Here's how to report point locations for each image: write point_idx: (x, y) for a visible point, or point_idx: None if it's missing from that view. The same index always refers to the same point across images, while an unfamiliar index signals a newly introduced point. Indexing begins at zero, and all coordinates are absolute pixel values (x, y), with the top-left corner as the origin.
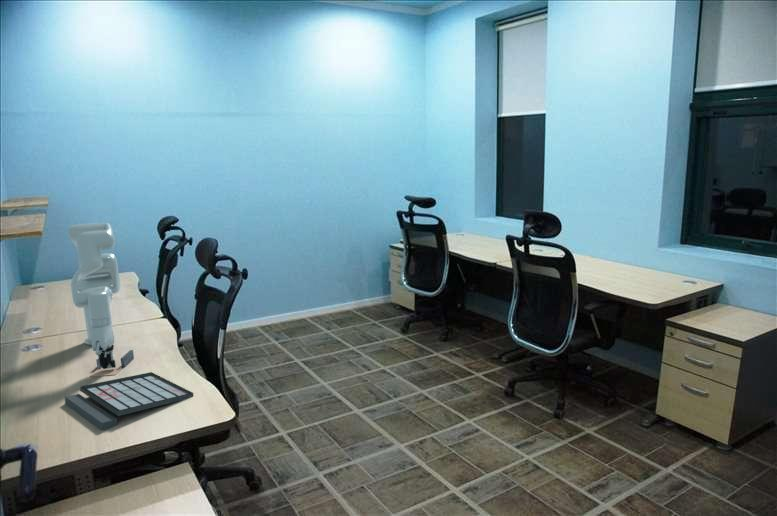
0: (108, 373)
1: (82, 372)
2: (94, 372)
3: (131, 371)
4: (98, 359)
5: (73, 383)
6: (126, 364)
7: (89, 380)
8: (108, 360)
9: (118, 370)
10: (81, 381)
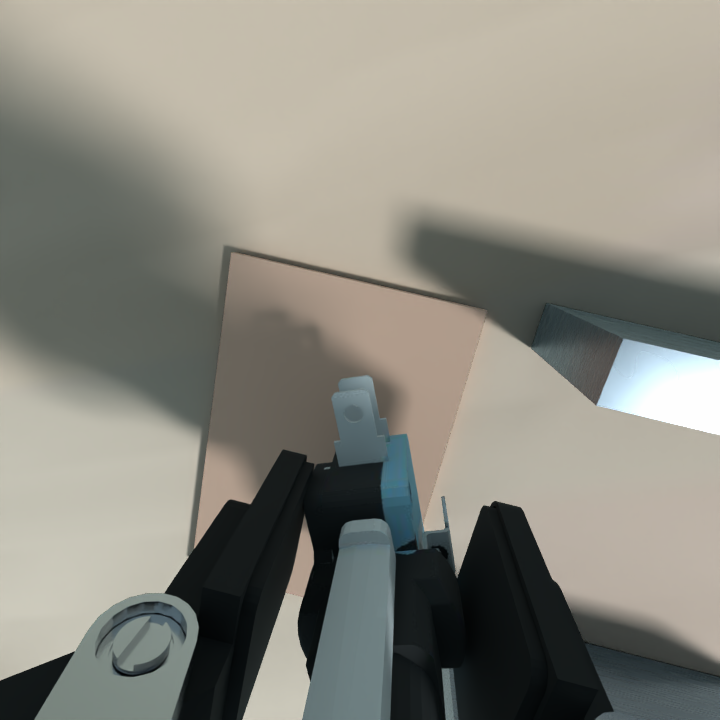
0: (254, 492)
1: (489, 67)
2: (365, 296)
3: (269, 697)
4: (628, 386)
5: (20, 58)
6: None
7: (95, 283)
8: (303, 640)
9: None
10: (78, 171)
